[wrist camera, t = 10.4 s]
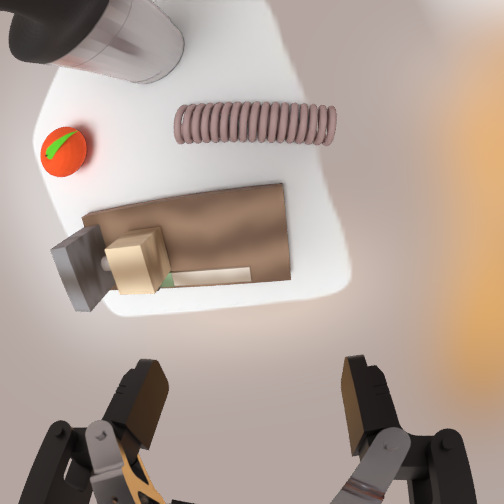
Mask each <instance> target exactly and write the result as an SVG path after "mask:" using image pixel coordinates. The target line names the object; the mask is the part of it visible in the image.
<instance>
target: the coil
mask: <svg viewBox="0 0 504 504" xmlns="http://www.w3.org/2000/svg"><path fill="white" fill-rule="evenodd" d="M184 112H185V114H184V118H183V124H181V120H182V116H183V113H184ZM193 112H194V113H193ZM201 112H203V113H201ZM210 112H212V115H210ZM219 113H221V118H220V117H219ZM229 114H230V140H231V142H236V141H237V139H238V124H237V122H238V115H239V124H240V125H239V139H240V141H241V142H245V141H246V139H247V120H248V129H249V141H250V142H255V141H256V131H257V133H258V141H259V142H264V141H265V138H266V134H267V140H268V142H270V143H272V142H274V141H275V136H276V140H277V142H278V143H282V142H283V141H284V140H286V142H287V143H292V142H293V141H294V140H295V142H296V143H297V144H301V143H302V142H303V141H304V143H305V144H308V145H309V144H311V143H312V142H313V143H314V144H315V145H320V144H321V143H322V144H323V145H325V146H328V145H330V144H331V142H332V140H333V138H334V134H335V130H336V120H337V119H336V118H337V116H336V109H335V107H333V106H329V107H328V109H326V106H324V105H320V106H319V110H318V112H317V106H316V105H315V104H312V105H310V109H309V130H308V126H307V119H308V106H307V104H304V103H303V104H301V107H300V123H299V119H298V104H297V103H292V105H291V114H289V104H288V103H286V102H284V103H283V104H282V106H281V112H280V105H279V103H278V102H274V103H273V104H272V107H271V105H270V103H269V102H264V103H263V104H262V106H261V104H260V103H259V102H254V103H253V105H252V104H251V103H250V102H245V103H244V104H242V103H241V102H236V103H235V104H234V105H233V103H231V102H227V103H225V105H224V104H223V103H221V102H219V103H217V104H213V103H208V104H207V105H205V104H203V103H201V104H199V105H196V104H191V105H189V106H187V105H182V106H180V107H179V109H178V110H177V112H176V115H175V119H174V136H175V139H176V142H177V143H178V144H184V143H185V142H186V143H188V144H191V143H193V141H194V142H195V143H201V142H202V140H203V141H204V142H205V143H209V142H210V141H211V139H212V141H213V142H214V143H217V142H219V140H220V138H221V141H222V142H224V143H225V142H227V141H228V139H229V120H228V116H229ZM317 115H318V133H317V131H316V127H317ZM326 126H327V136H326V134H325V131H326Z"/></svg>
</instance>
